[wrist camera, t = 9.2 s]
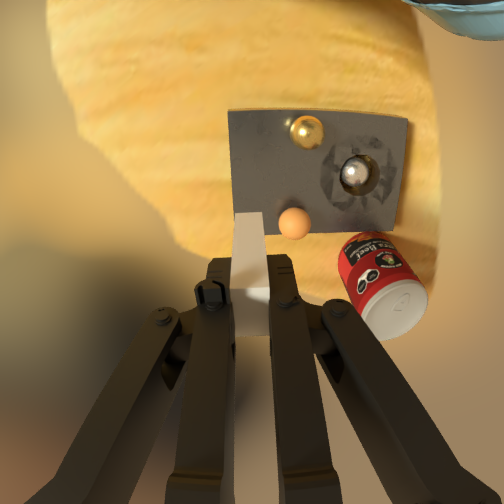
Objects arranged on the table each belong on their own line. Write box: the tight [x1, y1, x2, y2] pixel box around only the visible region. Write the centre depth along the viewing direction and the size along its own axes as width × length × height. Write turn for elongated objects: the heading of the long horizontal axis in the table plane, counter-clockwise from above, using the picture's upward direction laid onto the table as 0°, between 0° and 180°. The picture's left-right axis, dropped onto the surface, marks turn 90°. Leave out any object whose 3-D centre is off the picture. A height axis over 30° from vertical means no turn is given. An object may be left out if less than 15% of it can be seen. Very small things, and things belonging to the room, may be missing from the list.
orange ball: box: [279, 207, 311, 240], centre depth 30 cm, size 3×3×3 cm
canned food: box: [338, 231, 428, 341], centre depth 32 cm, size 8×8×11 cm
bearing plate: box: [228, 108, 408, 235], centre depth 30 cm, size 13×18×2 cm
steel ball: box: [340, 156, 369, 187], centre depth 29 cm, size 3×3×3 cm
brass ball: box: [290, 116, 325, 150], centre depth 25 cm, size 3×3×3 cm
